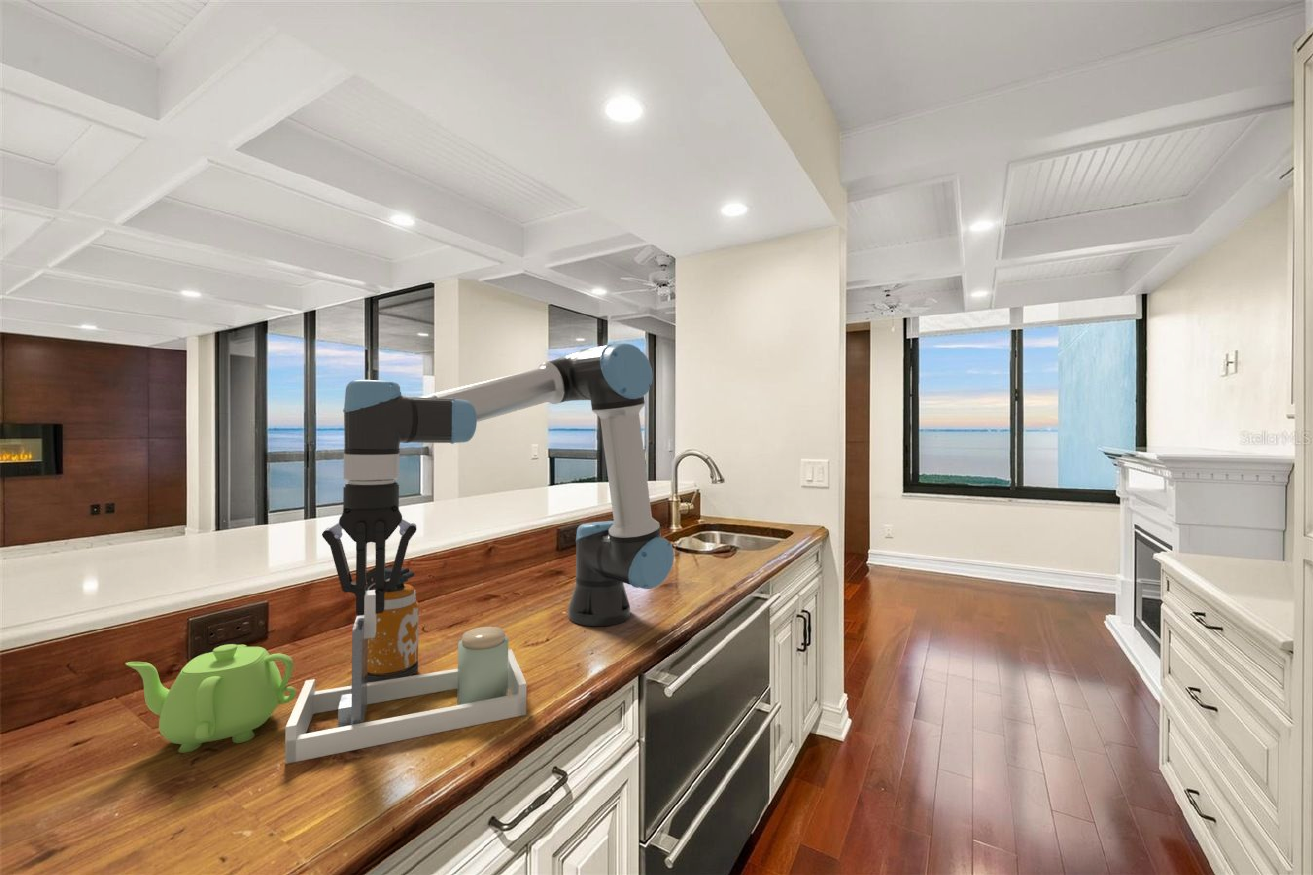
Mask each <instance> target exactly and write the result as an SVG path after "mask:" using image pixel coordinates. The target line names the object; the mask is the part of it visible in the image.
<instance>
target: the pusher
mask: <svg viewBox="0 0 1313 875" xmlns="http://www.w3.org/2000/svg"><path fill="white" fill-rule="evenodd" d="M367 657H368V638H366V639H364V615H361V616H357V615H356V617H355V620H354V624H353V626H352V631H351V686H352V694H346V695H342V697H341V701H340V704H339V708H338V711H337V728H339V727H344V726H349V725H355V724H360V723H365V717H366V711H367V707H368V704H367V683H368V681H367Z"/></svg>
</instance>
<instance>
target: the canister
mask: <svg viewBox="0 0 1313 875" xmlns="http://www.w3.org/2000/svg"><path fill="white" fill-rule="evenodd" d="M392 568H393V567H390V566H389V567H388V566H387V565H385V580H387V579H389V578H390V575H391V572H392ZM414 576H415V572H414V571H410V568H409V567H402V568H401V572H400V576H399V579H398V583H397V586H396V587H394V588H390V589H388V590H386V591H385V607H384V611H383V613H378V614H376V635H375V637H373V638H368V657H367V683H371V682H377V681H383V680H389V679H396V678H402V677H408V676H413V674H414V675H415V674H416V672H417V671H418V669H419V661H418V660H419V624H420V623H419V616H420V613H419V612H420V610H419V609H420V606H419V605H420V603H419V602H418V601H417V599H416V598H417V597H416V596H417V595H416V589H415V587H414V586H413V585H411V584H408V583H406V582H408V581H409V579H411V578H413V577H414ZM366 585H367V586H366V591H369V590H375V567H374V568H372V569H371V570H369V571H366Z"/></svg>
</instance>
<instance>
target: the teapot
mask: <svg viewBox="0 0 1313 875" xmlns="http://www.w3.org/2000/svg"><path fill="white" fill-rule="evenodd" d="M275 661H276V662H282V663H283V664H284V666H285V669H284V670H285V671H284V675H283V678H282V676H281V673H280V670H279V667H278V666H277V664H276V662H275ZM125 665H126V666H128V667H130V668H132V669H134V670H136V671H137V672H138V673H139V675H140V676H141V679H142V683H143V695H144V701H145V704H146V706H147V708H148V710H150V711H151V712H152V713H153V714H155V715H158V716H159V720H158V730H159V732H160V734H161V735H162V736H163V737H164V738H165V739H166V740H167V741H169V742H170V743H172V744H175V745H176V744H177V745H180V746H179V748H178V750H177V752H178V753H181V754H185V753H190V752H194V751H195V750H197V749H199V748H200V747H201V746H202V745H203V743H208V742H214V741H219V740H223V739H228V738H231V737H232V738H231V740H232V742H233V743H234V744H240V743H244V742H247V741H250V740H252V739H253V738H254V737H255V733H254V731H253V730H255V729H257V728H259V727H260V726H262V725H263V724H265V723H266V722H267V721H268V719H270V717H271V715H273V713H274V711H275V710H276V709H277V707H278V706H279V704H282V705H283V704H287V703H289V702H292V701H293V700H294V699H295V697H296V694H297V691H296V688H295V687H293V686H288V683H289V682H290V679H291V677H292V673H293V671H294V670H293V669H294V662H293V659H292V658H291V657H290V656H289V655H287V654H284V653H279V652H278V653H273V654H270V653H269V652H268V651H267V649H266V648H264V647H261V646H248V645H246V644H235V643H231V644H230V643H229V644H228V643H227V644H224V645H220V646H218V647H217V646H216V647H214V648H213V650H212V651H210V652H205V653H202V654H200V655H198V656H196V657H194V658H192V659H191V660H190V661H188V662H187V663H186V664H185V665H184V666H183V667H182V668H181V670H180V672H179V673H178V675H177V676H176V678H175V680H174V682H173V683H172V685H171V688H170V689H168V688H167V687H166V686H164V685H163V684H162V682H161V680H160V676H159V673H158V670H157V668H156V667H155V666H154V665H153V664H151V663H149V662H144V661H129V662H125ZM286 692H287V693H289V695H285V693H286Z"/></svg>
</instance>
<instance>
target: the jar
mask: <svg viewBox="0 0 1313 875" xmlns="http://www.w3.org/2000/svg"><path fill="white" fill-rule="evenodd" d="M508 650H509V637H508V636H507V635H506V632H505V630H504V629H503V628H500V627H497V626H483V627H482V626H480V627H477V628H476V627H475V628H473V629H470V630H467V631H465V632H464V633H462V635H461V639H460V640H459V641H458V644H457V669H458V688H457V701H456V702H457V704H456V705H461V704H467V703H472V702H477V701H483V700H488V699H493V698H499V697H504V696H509V695H508V693H509V688H508Z"/></svg>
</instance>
